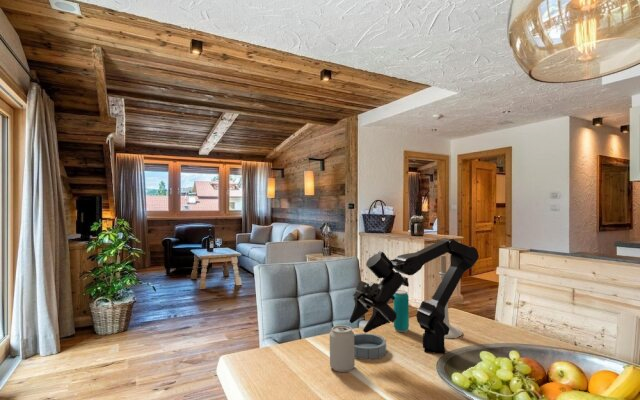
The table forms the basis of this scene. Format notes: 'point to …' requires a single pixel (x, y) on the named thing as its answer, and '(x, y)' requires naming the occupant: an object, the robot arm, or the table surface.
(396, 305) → the beverage can
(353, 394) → the table surface
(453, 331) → the candlestick
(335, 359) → the can
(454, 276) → the robot arm
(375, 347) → the bowl
